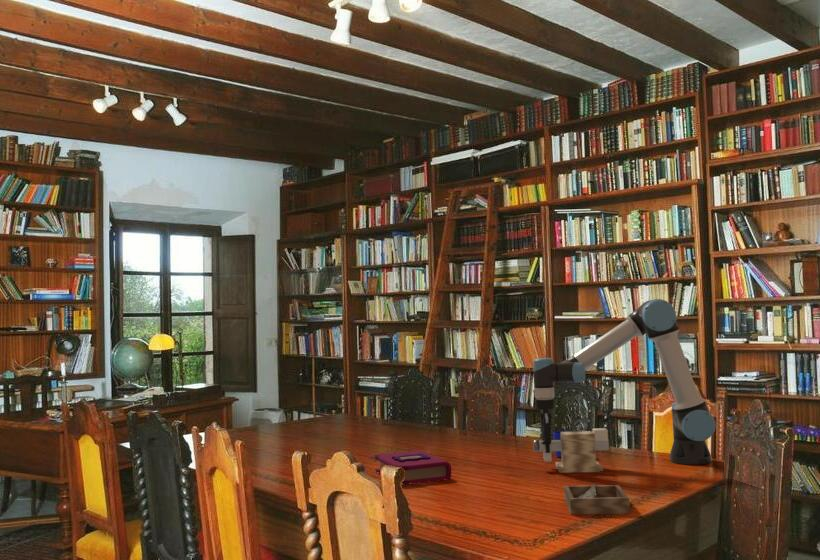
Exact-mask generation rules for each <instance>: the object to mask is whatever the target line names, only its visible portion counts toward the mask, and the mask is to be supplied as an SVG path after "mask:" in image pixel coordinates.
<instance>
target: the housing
mask: <svg viewBox="0 0 820 560" xmlns="http://www.w3.org/2000/svg"><path fill="white" fill-rule="evenodd" d="M560 437H561V440H562V450H563V451H561V457H562V458H561V457H560V458H561V461H555V466H556V469H557V471H558V472H559V474H561V473H562V474H563V473H568V474H569V473H601V472H600V471H603V472H604V467H602V465H601V464H600V462H599V461H597V460H596V456H597V455H596V450H595V436H594V433H593V432H592V431H591V430H590V431H589V430H588V431H587V430H586V431H571V432H560Z"/></svg>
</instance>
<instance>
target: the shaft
mask: <svg viewBox="0 0 820 560" xmlns="http://www.w3.org/2000/svg"><path fill="white" fill-rule="evenodd" d="M542 443H544V440H542V439H533V442H532V445H533V446H532V447H533V452H534V453H539V452H543V451H544V444H542ZM555 451H563V450H562V440H554V439H551V452H555ZM595 451H610V441H609V439H608V441H595Z"/></svg>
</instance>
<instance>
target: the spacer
mask: <svg viewBox="0 0 820 560" xmlns="http://www.w3.org/2000/svg"><path fill="white" fill-rule="evenodd" d="M592 432H593V433H594V436H595V441H608V440H609V433H608V432H609V431H608V428H606V427H605V428H604V427H602V428H601V427H599V428H595V427H594V428H592Z"/></svg>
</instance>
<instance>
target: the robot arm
mask: <svg viewBox="0 0 820 560" xmlns="http://www.w3.org/2000/svg"><path fill="white" fill-rule="evenodd" d="M679 332H680V326H679V324H678V321H677V313H676V310H675V307H674V306H673V305H672V304H671V303H670V302H668V301H667V300H664V299H661V298H655V299H651V300H647V301H645V302H643V303H642V304H640V306H638V307H637V308H636V309H635V310H634V311H632V312H631V313H630V314H628V315H627V316H626V319H625V320H624V321H623V322H620V324H617V325H616V326H615V327H613V328H612V329H611V330H609V331H607V332H605V334H603V335H601V336H600V337H598V338H597V339H595V340H594V341H592V342H591V343H590V344H588V345H586V346H584V347H583V348H582V349H580V350H579V351H577V352H576V353H573V355H571V356H570V357H568V358H567V359H565V360H564V359H563V360H562V361H561V362H554V360H553V358H551V357H540V358H539V357H538V358H534V360H533V362H532V364H533V365H532V367H533V369H532V373H533V374H532V375H533V387H534V389H533V390H532V393H534V398H535V399H534V409H536V410H541V413H539V419H540V425H541V440H544V443H542V444H544V451H542V456H543V461H544V462H552V459H553V458H552V457H553V456H552V451H551V440H552V434H551V431H552V430H551V426H552V424H551V423H552V420H551V419H552V415H551V413H549V412H550V411H549V410H554V409H555V408H556V403H555V399H554V398H555V386H554V384H555V383H557V384H558V383H575V384H577V383H583V382H585V381H586V370H588V369H589V368H591V367H592V366H594V365H595V364H597V363H598V362H600V361H601V360H603V359H604V358H606V357H608V356H610V354H612V353H613V352H615V351H617V350H618V349H619V348H621V347H624V345H626V344H627V343H629V342H630V341H632V340H633V339H635V338H637V337H643V336H644V335H646V334H647V338H648V340H650V341H651V342H654V344H655V348H656V351H657V353H658V357H659V359H660V362H661V365H662V368H663V370H664V373H665V376H666V379H667V382H668V384H669V388H670V390H671V394H672V396H673V398H674V402H673V403H672V404H671V417H672V432H673V433H672V434H673V441H672V445H671V449H670V451H669V461H670V462H671V463H675V464H681V465H691V466H692V465H693V466H695V465H707V464H710V463H712V454H711V452H710V449H709V447H708V444H707V441H706V440H708V439H710V438H711V437H712V436H713V435H714V433H715V431H716V427H717V426H716V419H715V418H714V416H713V415H712V414H711V413H710V411H709V407H708V405H707V402H706V400H705V398H702V397H701V396H699V395H700V394H699V393H698V389H697V387H696V384H695V381H694V379H693V376H692V373H691V371H690V367H689V364H688V362H687V358H686V356H685V353H684V351H683V348H682V345H681V342H680V340H679V337H678V334H679Z"/></svg>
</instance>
